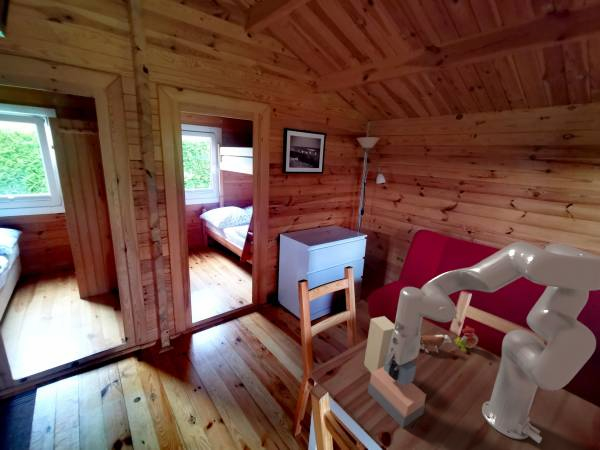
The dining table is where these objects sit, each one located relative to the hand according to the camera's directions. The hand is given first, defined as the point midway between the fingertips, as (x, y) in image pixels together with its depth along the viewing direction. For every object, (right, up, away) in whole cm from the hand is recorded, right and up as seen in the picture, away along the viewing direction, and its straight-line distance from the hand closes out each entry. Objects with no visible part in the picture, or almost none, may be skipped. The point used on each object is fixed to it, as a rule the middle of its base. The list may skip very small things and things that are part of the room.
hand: (398, 373), depth 90 cm
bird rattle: (+42, -7, +33) cm, 54 cm away
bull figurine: (+26, -6, +30) cm, 40 cm away
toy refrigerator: (-2, -8, +17) cm, 19 cm away
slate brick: (0, 0, 0) cm, 1 cm away
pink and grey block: (-1, -11, +3) cm, 12 cm away
